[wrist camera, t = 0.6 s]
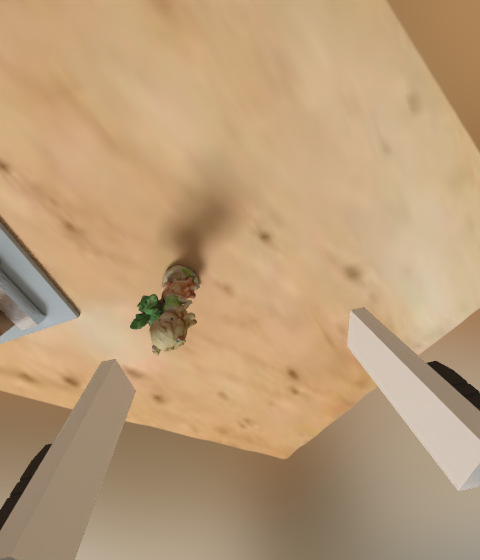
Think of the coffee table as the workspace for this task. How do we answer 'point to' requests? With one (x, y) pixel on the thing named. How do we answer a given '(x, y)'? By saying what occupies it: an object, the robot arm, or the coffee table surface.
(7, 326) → the block
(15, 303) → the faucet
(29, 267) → the board
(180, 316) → the figurine
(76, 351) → the coffee table surface
